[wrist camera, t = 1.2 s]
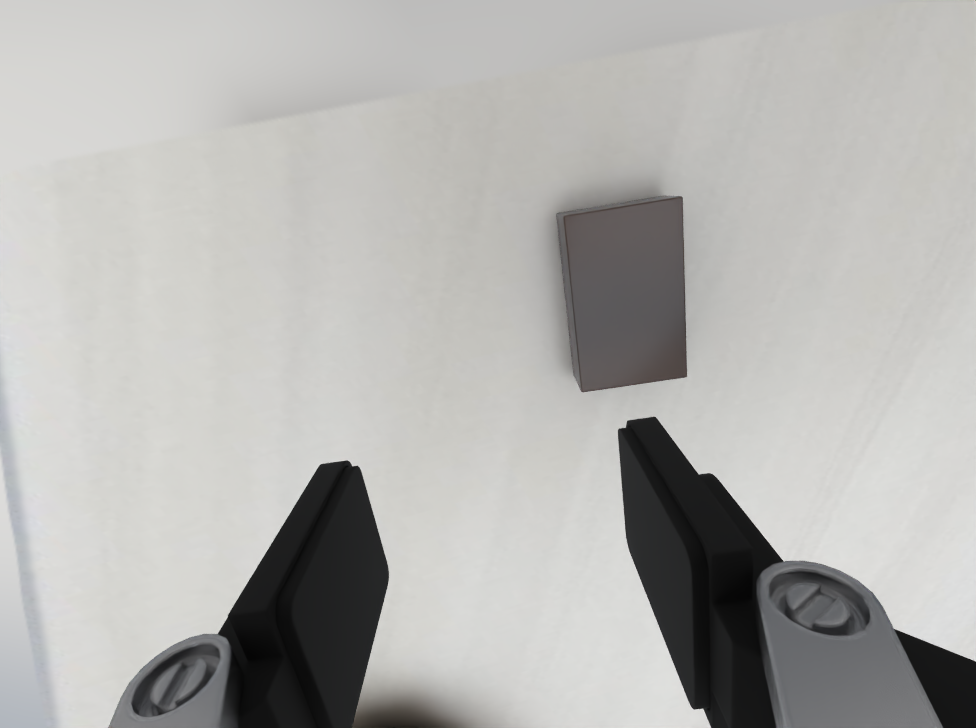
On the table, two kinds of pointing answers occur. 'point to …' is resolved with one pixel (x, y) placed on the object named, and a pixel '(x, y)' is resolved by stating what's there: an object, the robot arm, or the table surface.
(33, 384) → the table surface
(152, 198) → the table surface
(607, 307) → the walnut block
